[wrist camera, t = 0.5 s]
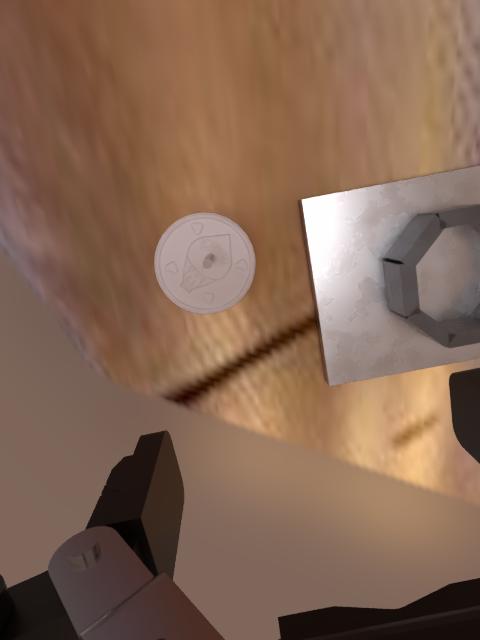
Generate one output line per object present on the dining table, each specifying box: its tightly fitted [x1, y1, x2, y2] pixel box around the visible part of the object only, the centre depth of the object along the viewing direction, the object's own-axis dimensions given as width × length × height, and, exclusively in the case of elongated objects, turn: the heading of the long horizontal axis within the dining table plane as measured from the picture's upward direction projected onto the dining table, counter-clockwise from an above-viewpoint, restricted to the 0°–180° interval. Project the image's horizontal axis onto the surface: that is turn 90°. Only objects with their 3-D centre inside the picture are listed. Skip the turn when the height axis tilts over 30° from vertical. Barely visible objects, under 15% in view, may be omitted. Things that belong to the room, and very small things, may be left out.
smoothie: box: [154, 212, 256, 314], centre depth 28 cm, size 6×6×14 cm
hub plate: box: [299, 166, 480, 386], centre depth 34 cm, size 16×22×5 cm
